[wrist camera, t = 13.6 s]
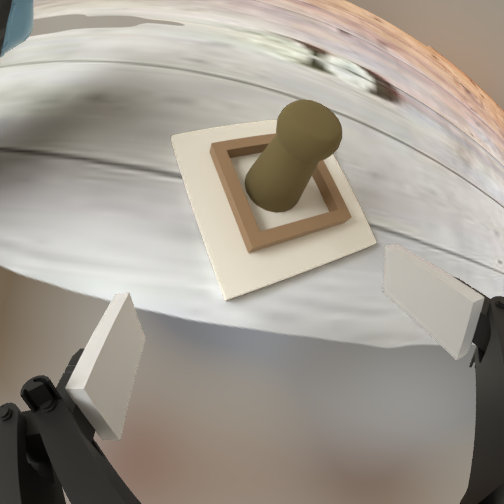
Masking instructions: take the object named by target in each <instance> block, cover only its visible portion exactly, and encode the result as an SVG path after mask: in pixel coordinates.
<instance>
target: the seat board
mask: <svg viewBox="0 0 504 504" xmlns="http://www.w3.org/2000/svg"><path fill="white" fill-rule="evenodd" d="M276 127H277V119H276V120H265V121H256V122H248V123H240V124H233V125H226V126H219V127H213V128H207V129H201V130H196V131H190V132H185V133H180V134H175V135H171V143H172V146H173V150H174V153H175V156H176V159H177V163H178V166H179V169H180V172H181V175H182V178H183V182H184V185H185V188H186V191H187V194H188V197H189V200H190V203H191V206H192V209H193V212H194V215H195V218H196V221H197V224H198V227H199V230H200V233H201V236H202V239H203V242H204V244H205V247H206V250H207V253H208V256H209V259H210V262H211V264H212V267H213V270H214V273H215V275H216V278H217V281H218V284H219V286H220V289H221V292H222V295H223V297H224V300H225V301H227V300H229V299H232V298H235V297H238V296H241V295H244V294H246V293H249V292H252V291H255V290H258V289H260V288H263V287H266V286H269V285H271V284H274V283H277V282H280V281H282V280H285V279H288V278H290V277H293V276H296V275H298V274H301V273H304V272H306V271H309V270H311V269H314V268H317V267H319V266H322V265H325V264H327V263H330V262H332V261H335V260H337V259H340V258H342V257H345V256H347V255H350V254H353V253H355V252H358V251H360V250H362V249H365V248H367V247H370V246H372V245H374V244H376V243H377V242H376V240H375V237H374V235H373V233H372V231H371V228H370V226H369V224H368V222H367V220H366V218H365V215H364V213H363V211H362V209H361V207H360V205H359V203H358V201H357V199H356V197H355V195H354V193H353V191H352V189H351V187H350V185H349V183H348V181H347V179H346V177H345V175H344V173H343V171H342V170H341V168H340V166H339V164H338V162H337V160H336V158H335V157H334V155H333V154H332V155H331V156H330V157H328V158H326V159H325V160H321V161H319V163H318V165H317V167H316V169H315V171H314V173H313V175H312V176H311V178H310V180H309V182H308V184H307V186H306V188H305V190H304V192H303V193H302V195H301V197H300V199H299V201H298V203H297V204H296V205H295V206H294V207H293V208H292V209H290V210H288V211H285V212H278V213H275V212H270V211H266V210H264V209H262V208H261V207H259V206H257V205H256V204H255V203H254V202H253V201H252V200H251V199H250V197H249V195H248V194H247V192H246V188H245V177H246V174H247V173H248V171H249V169H250V168H251V167H252V165H253V164H254V163H255V161H256V160H257V159H258V157H259V156H260V155H261V153H262V152H263V151H264V150H265V148H266V147H267V146H268V144H269V143H270V142H271V140H272V139H273V138H274V137H275V135H276Z"/></svg>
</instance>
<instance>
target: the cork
mask: <svg viewBox="0 0 504 504" xmlns="http://www.w3.org/2000/svg"><path fill="white" fill-rule="evenodd" d="M341 139H342V128H341V124H340V122H339V120H338V118H337V117H336V116H335V114H334V113H333V112H332V111H330V110H329V109H328V108H327V107H325V106H323V105H322V104H320V103H317V102H314V101H312V100H297V101H295V102H292V103H290V104H289V105H287V106H286V107H285V108H284V109H283V110H282V112H281V113H280V115H279V117H278V119H277V127H276V135H275V137H274V138H273V139H272V140H271V142H270V143H269V144H268V146H267V147H266V148H265V150H264V151H263V152H262V153H261V155H260V156H259V157H258V159H257V160H256V161H255V163H254V164H253V165H252V167H251V168H250V169H249V171H248V173H247V174H246V177H245V188H246V192H247V194H248V195H249V197H250V199H251V200H252V201H253V202H254V203H255V204H256V205H257V206H259V207H261V208H262V209H264V210H266V211H270V212H275V213H278V212H285V211H288V210H290V209H292V208H293V207H294V206H295V205H296V204H297V203H298V201H299V199H300V197H301V195H302V193H303V192H304V190H305V188H306V186H307V184H308V182H309V180H310V178H311V176H312V175H313V173H314V171H315V169H316V167H317V165H318V163H319V161H321V160H325V159H326V158H328V157H330V156H331V155H332V154H333V153H334V152H335V151H336V150H337V149H338V147H339V145H340V142H341Z"/></svg>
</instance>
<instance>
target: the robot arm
mask: <svg viewBox="0 0 504 504" xmlns="http://www.w3.org/2000/svg"><path fill="white" fill-rule="evenodd" d="M32 28H33V0H0V58H1V57H2V56H4V54H5V53H6V52H8V51H9V50H11V49H13V48H14V47H16V46H17V45H19V44H21V43H22V42H24V41H25V40H26V39H27V38H28V37H29V35H30V34H31V31H32ZM383 293H384V294H385V295H386V296H388V297H389V298H390V299H391V300H392V301H393V302H394V303H396V304H397V305H398V306H399V307H400V308H401V309H402V310H403V311H404V312H406V313H407V314H408V315H409V316H410V317H411V318H412V319H413V320H414V321H415V322H417V323H418V324H419V325H420V326H421V327H422V328H423V329H424V330H425V331H426V332H427V333H428V334H429V335H431V336H432V337H433V338H434V339H435V340H436V341H437V342H438V343H439V344H440V345H441V346H442V347H443V348H444V349H445V350H446V351H447V352H448V353H450V355H451V356H452V357H454V358H455V359H456V360H458V359H460V358H461V357H463V356H465V355H467V354H468V352H469V349H470V347H471V344H472V342H473V343H474V344H475V345H476V349H475V352H474V355H473V358H472V360H471V363H470V366H469V367H472V365H473V363H474V362H475V369H476V426H475V427H476V428H475V440H474V450H473V459H472V467H471V473H470V479H469V485H468V489H467V491H466V493H465V495H464V497H463V498H462V500H461V502H460V504H504V297H501V296H496V297H493V298H492V299H490V298H488V297H486V296H485V295H483V294H482V293H480V292H479V291H477V290H476V289H474V288H471V286H469V285H468V284H465V282H463V281H462V280H460V279H458V278H456V277H453V276H451V275H449V274H448V273H446V272H444V271H443V270H441V269H439V268H438V267H436V266H434V265H433V264H431V263H429V262H428V261H426V260H424V259H422V258H421V257H419V256H417V255H415V254H414V253H412V252H410V251H408V250H407V249H405V248H403V247H401V246H399V245H398V244H392V245H387V246H385V258H384V279H383ZM145 339H146V338H145V336H144V333H143V330H142V328H141V325H140V322H139V319H138V317H137V314H136V311H135V308H134V305H133V302H132V299H131V296H130V293H129V292H128V293H122V294H115V296H114V298H113V299H112V301H111V303H110V305H109V306H108V308H107V310H106V311H105V313H104V315H103V317H102V318H101V320H100V322H99V324H98V325H97V327H96V329H95V331H94V333H93V335H92V336H91V338H90V340H89V342H88V344H87V346H86V348H85V349H80V350H79V351H78V352H77V353H76V354H75V355H73V357H72V358H71V360H70V362H69V364H68V366H67V368H66V370H65V373H63V376H62V378H61V379H60V381H59V383H58V385H57V387H56V388H55V387H54V385H53V383H52V382H51V380H50V379H49V378H48V377H47V376H44V375H42V376H36V377H33V378H32V379H30V380H29V381H27V382H26V383H25V384H24V385H23V387H22V389H21V397H22V398H23V400H24V401H25V403H26V404H27V405H28V407H29V408H30V409H31V410H29V411H25V412H21V411H20V410H19V408H18V407H17V406H16V405H15V404H13V403H6V404H4V405H2V406H0V504H66V502H65V498H64V493H63V489H64V491H65V493H66V495H67V497H68V499H69V501H70V502H71V504H141V503H140V501H139V500H138V499H137V498H136V497H135V496H134V494H133V493H132V492H131V491H130V489H129V488H128V487H127V486H126V484H125V483H124V482H123V480H122V479H121V478H120V476H119V475H118V474H117V472H116V471H115V469H114V468H113V467H112V465H111V464H110V463H109V461H108V459H107V458H106V457H105V455H104V454H103V452H102V450H101V449H100V447H99V446H98V444H97V443H96V442H95V441H94V439H93V437H94V433H95V431H96V432H97V434H98V435H99V436H100V437H101V438H102V440H116V441H120V440H121V435H122V430H123V426H124V421H125V417H126V412H127V408H128V404H129V400H130V395H131V391H132V387H133V383H134V379H135V375H136V372H137V368H138V364H139V360H140V357H141V353H142V350H143V346H144V343H145ZM62 487H63V489H62Z"/></svg>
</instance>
